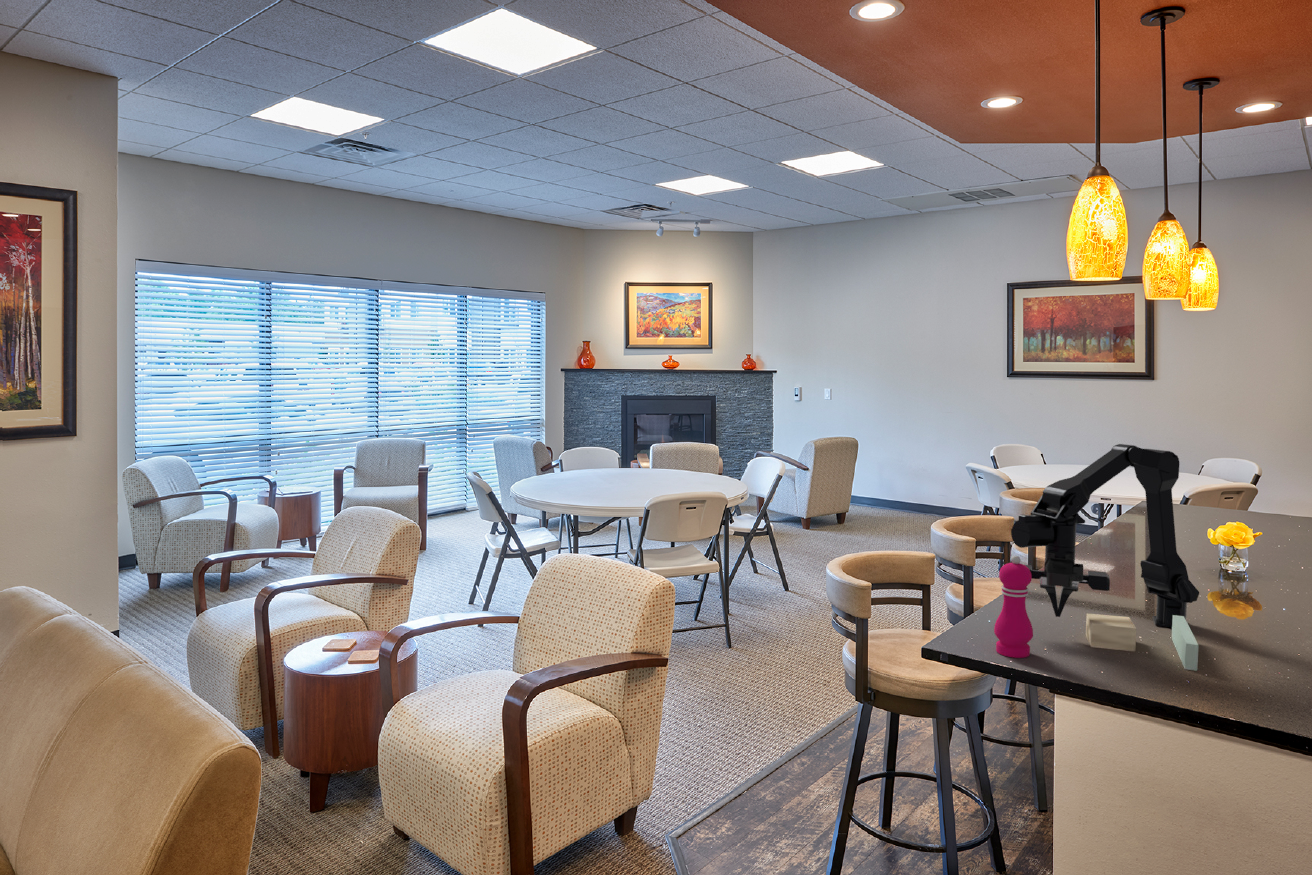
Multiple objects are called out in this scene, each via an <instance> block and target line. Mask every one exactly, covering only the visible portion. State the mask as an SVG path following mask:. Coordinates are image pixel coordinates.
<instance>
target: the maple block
mask: <svg viewBox="0 0 1312 875" xmlns="http://www.w3.org/2000/svg"><path fill="white" fill-rule="evenodd" d="M1085 621H1086V622H1085V637H1086V639H1087V641H1088V643H1089V645H1090V647H1091V648H1098V649H1106V650H1107V649H1108V650H1117V651H1126V652H1136V644H1137V643H1136V642H1137V627H1136V625H1135V624H1134V623H1133V621H1132V620H1131V618H1130V617H1129V616H1121V615H1120V616H1119V615H1108V614H1107V615H1106V614H1097V613H1086V620H1085Z"/></svg>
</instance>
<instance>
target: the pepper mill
mask: <svg viewBox="0 0 1312 875" xmlns="http://www.w3.org/2000/svg"><path fill="white" fill-rule="evenodd" d="M1010 561H1011V562H1007V563H1005V564H1003V565H1002V566H1001V567H1000V569H999V572H998V573H999V574H998V577H999V580H1000V582H1001V583H1002V584H1003V585H1002V586H1001V591H1000V593H1001V594H1003V603H1002V608H1001V611H1000V613H999V615H998V617H997V618H996V621H995V624H994V627H993V631H994V635H995V637H996V638H997V639H998V641H996V644H995V650H996V653H997V654H998V655H1002V656H1005V657H1009V658H1014V659H1015V658H1016V659H1017V658H1018V659H1021V658H1027V657H1029V656H1030V654H1031V653H1030V651H1031V646H1030V645H1029V642H1030V641H1032V639H1033V636H1034V628H1033V625H1032V622H1031V620H1030V618H1029V615H1028V613H1027V607H1026V600H1027V597H1028V596H1029V588H1028V586H1029V585H1030V583H1032V580H1033V579H1032V575H1031V572H1030V570H1029V568H1028V567H1027V566H1025V565H1026V564H1023V563H1021V557H1020V556H1019V555H1012V556H1011V558H1010Z"/></svg>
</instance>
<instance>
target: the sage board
mask: <svg viewBox="0 0 1312 875" xmlns="http://www.w3.org/2000/svg"><path fill="white" fill-rule="evenodd" d="M1189 626H1190V625H1189V622H1188V620H1187V619H1186V620H1185V618H1184V616H1177V615H1173V620H1172V627H1171V640H1172V642H1173V645H1174V646H1175V649H1176V652H1177V654H1178V657H1179V659H1180V661H1181V664H1182V666H1183V668H1184V670H1189V671H1196V672H1197V671H1198V663H1199V662H1198V660H1199V643H1198V642H1197V639H1196V638H1195V635H1194V633H1193V632H1192V630H1191V628H1190V627H1189Z"/></svg>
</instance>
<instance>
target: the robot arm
mask: <svg viewBox="0 0 1312 875" xmlns="http://www.w3.org/2000/svg"><path fill="white" fill-rule="evenodd" d="M1128 467H1132V468H1134V473H1135V477H1136V479H1137V480H1138V482H1139V484H1141V486H1142V488H1143V490H1144V491H1145V492H1144V493H1145V503H1146V513H1147V514H1146V515H1147V526H1148V536H1149V538H1148V539H1149V549H1150V550H1149V551H1150V552H1149V554H1148V556H1146V557H1147V558H1146V559H1144V560H1143V559H1142V560H1141V561H1140V569H1141V574H1140V578H1142V579H1143V582H1144V584H1145V585H1146V590H1147V593H1149V594H1153V595H1156V612H1155V613H1156V614H1155V615H1152V620H1153V623H1154V625H1155V626H1157V627H1165V628H1166V627H1168V628H1172V620H1173V615H1177V616H1184V618H1185V620H1186V621H1187V608H1188V604H1191V603H1194V602H1197V601H1198V598H1199V595H1200V591H1199V590H1198V589H1197V588H1196V586H1195V585H1194V584H1193V583H1192V582H1191V580H1190V578H1189V575H1188V570H1187V566H1186V564H1185V562H1184V561H1183V559H1182V557H1180V554H1178V551H1177V540H1176V527H1175V515H1174V514H1175V513H1174V505H1173V504H1174V501H1173V492H1172V491H1173V490H1172V489H1173V488H1174V486H1175V484H1176V482H1177V481H1178V479H1179V478H1180V476H1179V475H1180V458H1179V457H1178V455H1177V454H1176V453H1174V452H1173V451H1170V450H1163V449H1162V450H1160V449H1152V448H1141V447H1138V446H1136V445H1134V444H1133V445H1132V444H1123V443H1118V444H1115V445H1113V446H1112V447H1111V449H1110V450H1109V451H1108V452H1106V453H1105V454H1104V455H1102V456H1100V457H1099V458H1097V459H1096V460H1095V461H1094V462H1092V463H1091V464H1089V465H1088V466H1087V467H1085V468H1083V469H1082V470H1080V471H1079V472H1078V473H1077V474H1076V475H1074V476H1072V477H1067V478H1064V479H1060V480H1057V481H1055V482H1053V483H1051V484H1049V485H1047V486H1046V487H1045V488H1044V489H1043V490H1042V495H1041V496H1040V498H1039V499H1038V500H1037V502H1036V504H1035V505H1034V507H1033V508H1032V510H1031V511H1030V514H1019V515H1018V520H1017V521H1015V522H1014V523H1013V525H1012V527H1011V530H1010V535H1011V539H1012V542H1013V543H1014V545H1015V546H1017V547H1018V548H1023V549H1025V548H1035V547H1045V549H1044V550H1045V551H1044V552H1045V553H1044V567H1043V568H1044V570H1039V569H1032V565H1031V564H1024V565H1025V566H1027V567H1028V568H1029V570H1030V572H1031V575H1032V579H1031V580H1039V587H1040V588H1041V589H1045V591H1046V593H1047V595H1048V597H1049V599H1050V602H1051V605H1052V608H1053V609H1052V610H1053V612H1054V615H1055V617H1056V618H1057V617H1058V618H1060V617H1061V615H1062V612H1063V610H1064V607H1065V606H1066V603H1067V601H1068V599H1069V597H1070V596H1071V594H1072V593H1073V592H1079V586H1080V584H1083V585H1084V584H1086V585H1087V586H1088V587H1089V588H1090V589H1091V590H1093V591H1094V590H1095V591H1103V592H1108V591H1110V588H1111V587H1110V586H1111V585H1110V584H1111V579H1110V576H1109V574H1108V573H1107V572H1106V571H1100V570H1099V571H1096V570H1087V574H1084V564H1082V563H1076V543H1077V542H1076V541H1077V540H1076V539H1077V537H1076V536H1077V525H1080V524H1081V525H1082V524H1085V523H1086V520H1085V519H1084V518H1083V517H1081V515H1080V514H1079V512H1081V510H1082V509H1083V508H1084V507H1085V506H1086V505H1087V504H1088V503H1089V501H1090V498H1091V495H1092V494H1093V493H1094V492H1096V491H1097V490H1099V488H1101V487H1102V486H1104V485H1105V484H1107V483H1108V482H1109V481H1111V480H1112V479H1113V478H1115V477H1116V476H1118V475H1119V474H1120V473H1122V472H1123V471H1125V470H1126V469H1127V468H1128ZM1056 587H1061V588H1060V589H1061V590H1060V595H1059V600H1058V594H1057V588H1056ZM1058 601H1059V602H1058ZM1189 627H1190V625H1189Z"/></svg>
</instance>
